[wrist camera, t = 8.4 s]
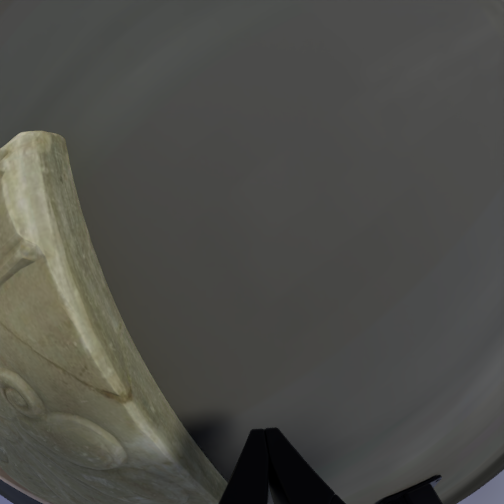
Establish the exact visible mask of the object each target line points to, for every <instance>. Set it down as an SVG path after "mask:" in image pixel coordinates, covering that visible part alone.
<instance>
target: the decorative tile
mask: <svg viewBox="0 0 504 504" xmlns="http://www.w3.org/2000/svg"><path fill="white" fill-rule="evenodd" d="M0 467H1V468H2V469H3V470H4V471H5V472H6V473H7V474H8V475H9V476H10V477H11V478H12V479H14V480H15V481H16V482H18V483H19V484H20V485H22V486H23V487H25V488H26V489H28V490H29V491H30V492H31V493H32V494H34V495H35V496H37V497H39V498H41V499H43V500H46V501H49V502H52V503H55V504H218V503H219V501H220V499H221V497H222V495H223V493H224V491H225V488H226V486H227V484H228V483H227V482H226V480H225V479H224V478H223V477H222V476H221V475H220V473H219V472H218V471H217V470H216V468H215V467H214V466H213V465H212V464H211V462H210V461H209V459H208V458H207V457H206V456H205V455H204V453H203V452H202V451H201V450H200V448H199V447H198V445H197V444H196V443H195V441H194V440H193V439H192V437H191V436H190V435H189V433H188V432H187V430H186V429H185V428H184V426H183V425H182V423H181V422H180V420H179V419H178V417H177V416H176V414H175V413H174V411H173V410H172V408H171V407H170V405H169V403H168V402H167V400H166V399H165V397H164V396H163V394H162V392H161V391H160V389H159V388H158V386H157V384H156V382H155V381H154V379H153V377H152V376H151V374H150V372H149V370H148V369H147V367H146V365H145V363H144V361H143V359H142V358H141V356H140V354H139V352H138V350H137V348H136V346H135V344H134V342H133V340H132V339H131V337H130V335H129V333H128V331H127V329H126V326H125V324H124V322H123V320H122V318H121V316H120V313H119V311H118V309H117V307H116V304H115V302H114V300H113V297H112V295H111V293H110V290H109V288H108V285H107V283H106V280H105V278H104V275H103V273H102V270H101V267H100V264H99V261H98V259H97V256H96V253H95V251H94V248H93V246H92V243H91V239H90V236H89V233H88V229H87V226H86V223H85V220H84V217H83V214H82V210H81V207H80V203H79V199H78V195H77V192H76V188H75V184H74V180H73V176H72V172H71V167H70V162H69V157H68V152H67V147H66V143H65V139H64V138H63V137H62V136H60V135H58V134H55V133H49V132H45V131H28V132H21V133H19V134H18V135H17V136H15V137H14V138H13V139H12V140H10V141H9V142H8V143H7V144H6V145H5V146H3V147H2V148H0Z"/></svg>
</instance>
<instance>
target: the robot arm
mask: <svg viewBox="0 0 504 504" xmlns="http://www.w3.org/2000/svg"><path fill="white" fill-rule="evenodd" d="M441 478H442V477H441V475H438V476H436V477H434V478H432V479H430V480H428V481H426V482H424V483H422V484H420V485H417V486H415V487H413V488H411V489H409V490H406V491H404V492H401V493H399V494H397V495H394V496H391V497H389V498H387V499H385V500H383V501H382V502H381V503H380V504H443V503H442V502H441V500H440V498H439V497H438V495H437V493H436V492H435V490H434V486H435V485H436V484H437V483H438V482H439V481H440V480H441ZM268 482H269V487H270V491H271V495H272V498H273V502H274V504H346V503H345V502H343V501H342V500H341V499H340V498H339V496H338V495H336V494H335V493H334V492H333V490H332V489H331V488H330V487H329V486H328V485H327V484H326V483H325V482H324V481H323V480H322V479H321V478H320V477H319V476H318V474H317V473H316V472H315V471H314V470H313V469H312V468H311V467H310V466H309V464H308V463H307V462H306V461H305V460H304V459H303V458H302V456H301V455H300V454H299V453H298V452H297V451H296V449H295V448H294V447H293V446H292V445H291V443H290V442H289V441H288V440H287V439H286V437H285V436H284V435H283V434H282V433H281V431H280V430H279V429H278V428H276V427H275V428H266V429H265V430H264V429H252V430H251V431H250V434H249V436H248V439H247V441H246V443H245V446H244V448H243V450H242V453H241V455H240V457H239V460H238V462H237V464H236V466H235V469H234V471H233V473H232V475H231V478H230V480H229V482H228V484H227V486H226V488H225V491H224V493H223V495H222V497H221V499H220V501H219V503H218V504H268ZM334 494H335V495H334Z"/></svg>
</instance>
